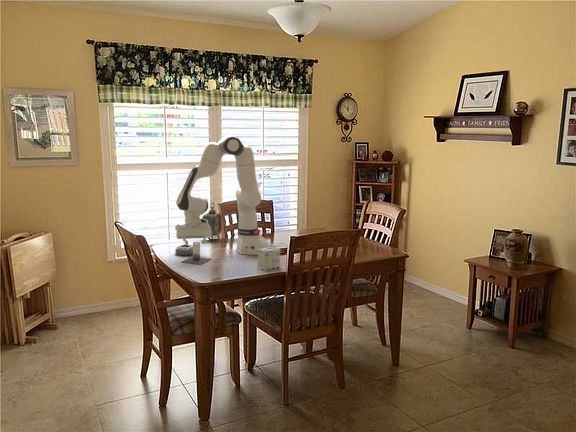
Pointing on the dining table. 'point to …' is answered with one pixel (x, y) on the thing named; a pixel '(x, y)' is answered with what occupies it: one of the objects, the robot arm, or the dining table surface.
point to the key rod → (196, 251)
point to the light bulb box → (268, 258)
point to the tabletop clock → (214, 221)
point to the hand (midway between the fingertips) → (195, 243)
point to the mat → (190, 260)
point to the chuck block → (184, 250)
